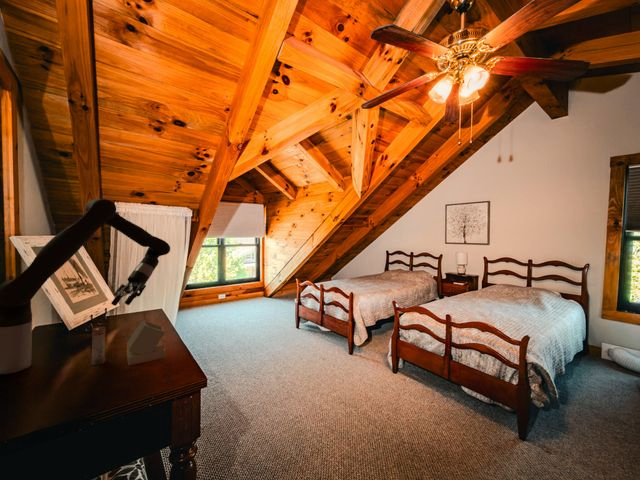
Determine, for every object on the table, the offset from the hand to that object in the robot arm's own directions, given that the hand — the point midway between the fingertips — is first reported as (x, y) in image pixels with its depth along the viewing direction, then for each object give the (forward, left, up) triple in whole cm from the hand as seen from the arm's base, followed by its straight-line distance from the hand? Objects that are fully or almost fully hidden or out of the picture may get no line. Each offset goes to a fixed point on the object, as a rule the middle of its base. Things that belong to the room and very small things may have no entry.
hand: (119, 304), depth 123 cm
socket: (+9, -13, -20) cm, 26 cm away
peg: (-7, -10, -20) cm, 24 cm away
